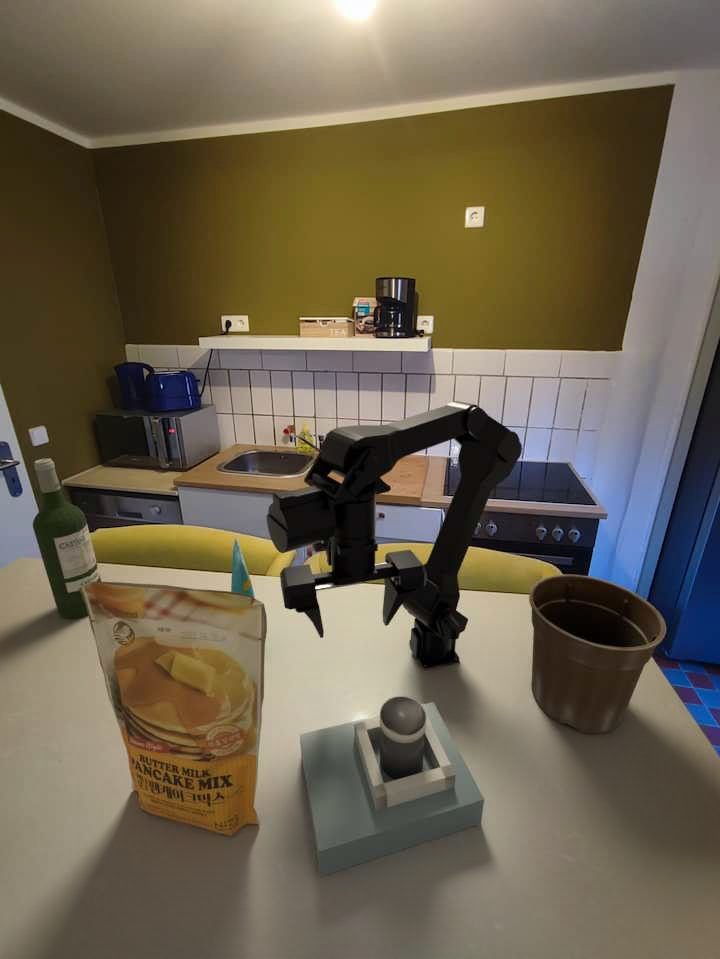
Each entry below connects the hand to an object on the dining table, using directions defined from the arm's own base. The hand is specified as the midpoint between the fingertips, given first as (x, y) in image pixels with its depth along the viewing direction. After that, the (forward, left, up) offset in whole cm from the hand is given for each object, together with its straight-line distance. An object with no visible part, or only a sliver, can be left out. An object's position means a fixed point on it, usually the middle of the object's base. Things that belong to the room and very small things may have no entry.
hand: (353, 629), depth 59 cm
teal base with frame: (0, +14, -12) cm, 18 cm away
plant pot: (-31, +9, -12) cm, 35 cm away
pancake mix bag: (+21, +9, -12) cm, 26 cm away
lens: (-2, +14, -8) cm, 16 cm away
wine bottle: (+46, -35, -12) cm, 59 cm away
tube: (+15, -15, -12) cm, 24 cm away
